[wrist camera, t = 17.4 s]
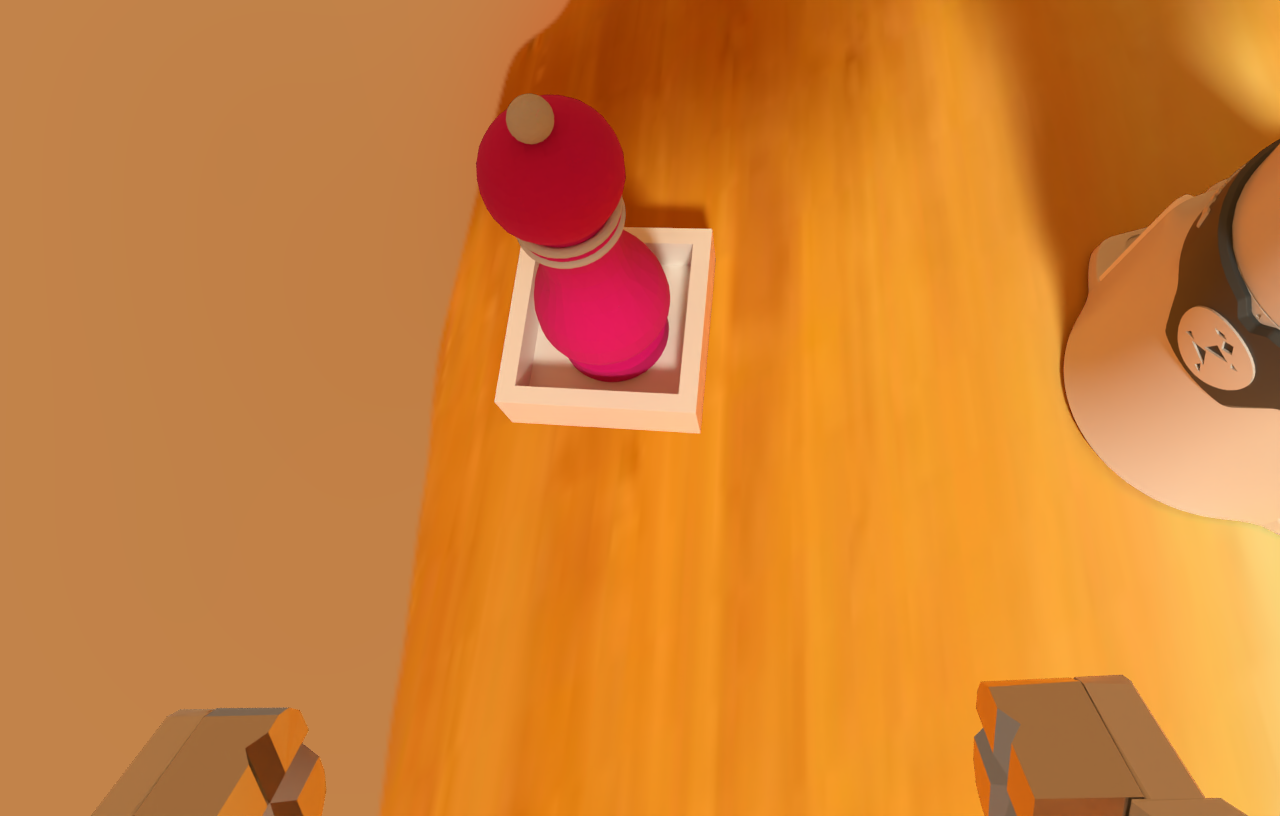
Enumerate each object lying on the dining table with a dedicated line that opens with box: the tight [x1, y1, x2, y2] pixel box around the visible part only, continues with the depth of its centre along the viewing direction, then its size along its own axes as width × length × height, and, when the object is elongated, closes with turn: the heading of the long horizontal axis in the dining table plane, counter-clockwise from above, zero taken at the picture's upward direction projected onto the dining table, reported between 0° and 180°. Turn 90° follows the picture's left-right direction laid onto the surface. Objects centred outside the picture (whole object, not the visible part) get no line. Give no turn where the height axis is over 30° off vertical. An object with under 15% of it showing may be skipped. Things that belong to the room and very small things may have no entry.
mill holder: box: [495, 227, 716, 433], centre depth 48 cm, size 11×11×4 cm
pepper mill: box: [476, 93, 670, 382], centre depth 40 cm, size 7×7×20 cm
